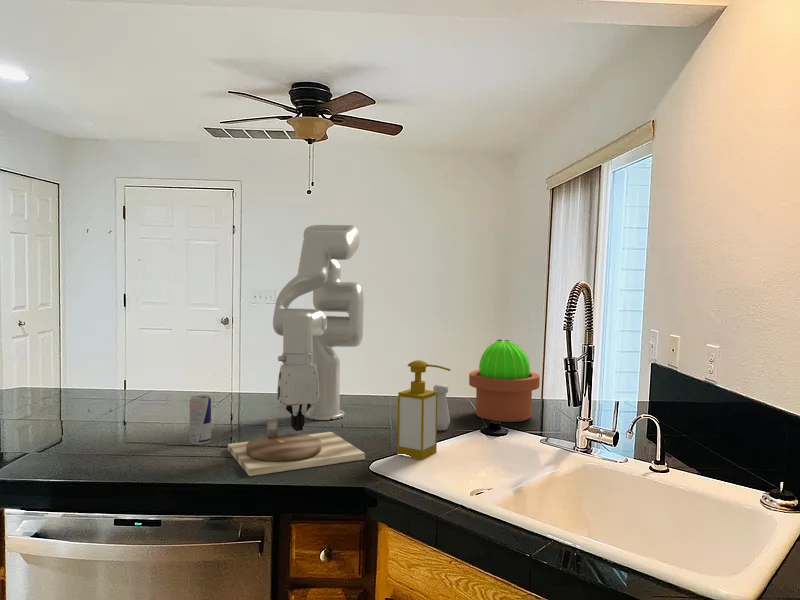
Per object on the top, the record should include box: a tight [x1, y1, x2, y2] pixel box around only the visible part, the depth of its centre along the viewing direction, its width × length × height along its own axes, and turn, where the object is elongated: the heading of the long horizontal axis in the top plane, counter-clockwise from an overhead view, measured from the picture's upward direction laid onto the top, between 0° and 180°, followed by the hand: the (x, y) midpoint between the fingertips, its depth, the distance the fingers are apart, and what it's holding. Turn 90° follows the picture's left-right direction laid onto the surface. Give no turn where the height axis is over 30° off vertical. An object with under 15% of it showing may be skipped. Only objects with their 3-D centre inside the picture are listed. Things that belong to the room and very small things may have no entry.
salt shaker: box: [432, 383, 451, 431], centre depth 174 cm, size 6×6×13 cm
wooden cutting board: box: [227, 431, 366, 477], centre depth 148 cm, size 22×28×2 cm
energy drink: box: [189, 394, 212, 446], centre depth 157 cm, size 5×5×12 cm
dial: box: [246, 417, 322, 461], centre depth 145 cm, size 18×18×6 cm
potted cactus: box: [468, 339, 541, 423], centre depth 191 cm, size 22×22×25 cm
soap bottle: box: [396, 359, 452, 461], centre depth 148 cm, size 7×13×24 cm, turn 58°
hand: (297, 429), depth 155 cm, fingers closed
